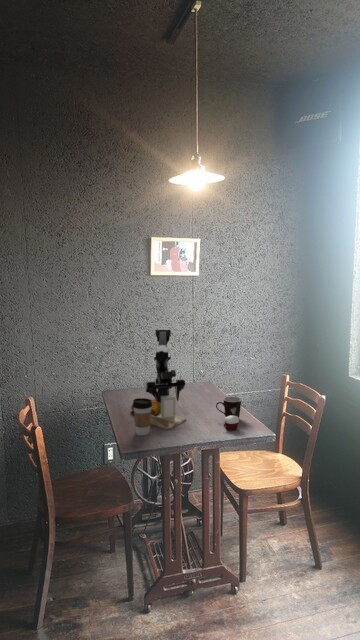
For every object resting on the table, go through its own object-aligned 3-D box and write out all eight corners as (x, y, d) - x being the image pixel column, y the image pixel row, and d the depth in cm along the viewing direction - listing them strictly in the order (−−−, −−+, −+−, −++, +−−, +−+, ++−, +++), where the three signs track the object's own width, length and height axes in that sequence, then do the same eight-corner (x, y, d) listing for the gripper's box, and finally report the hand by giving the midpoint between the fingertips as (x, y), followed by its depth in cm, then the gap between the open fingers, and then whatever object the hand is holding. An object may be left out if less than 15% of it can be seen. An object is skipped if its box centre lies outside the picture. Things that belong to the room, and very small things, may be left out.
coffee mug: (242, 417, 206) (243, 397, 205) (239, 423, 198) (239, 402, 197) (219, 414, 210) (219, 395, 208) (215, 420, 202) (215, 400, 200)
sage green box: (160, 418, 202) (160, 396, 200) (173, 417, 203) (172, 395, 202) (162, 421, 198) (162, 398, 197) (175, 419, 200) (174, 397, 198)
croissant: (141, 423, 204) (141, 408, 202) (127, 410, 216) (127, 396, 214) (166, 417, 212) (167, 402, 210) (151, 404, 224) (152, 390, 222)
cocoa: (224, 433, 187) (224, 407, 185) (220, 427, 193) (219, 402, 191) (244, 430, 189) (244, 405, 187) (240, 424, 195) (239, 400, 193)
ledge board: (165, 414, 210) (165, 407, 209) (186, 420, 201) (186, 412, 201) (146, 422, 199) (146, 414, 198) (167, 429, 191) (167, 420, 190)
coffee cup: (133, 429, 190) (132, 397, 188) (152, 429, 191) (151, 396, 189) (132, 436, 182) (132, 403, 180) (152, 436, 183) (152, 402, 181)
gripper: (146, 365, 199) (151, 394, 190) (184, 363, 204) (190, 391, 195) (143, 377, 207) (148, 406, 198) (180, 375, 212) (186, 402, 203)
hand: (168, 401), depth 198 cm, fingers open, 9 cm apart
